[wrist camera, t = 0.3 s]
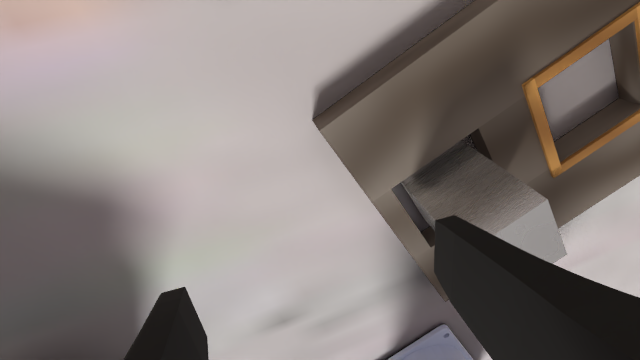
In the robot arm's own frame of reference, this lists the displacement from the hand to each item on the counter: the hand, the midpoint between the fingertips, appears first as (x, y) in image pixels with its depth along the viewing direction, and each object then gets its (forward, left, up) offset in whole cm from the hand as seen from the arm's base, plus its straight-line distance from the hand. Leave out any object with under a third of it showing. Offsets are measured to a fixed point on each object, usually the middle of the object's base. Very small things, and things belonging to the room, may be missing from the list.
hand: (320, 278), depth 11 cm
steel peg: (-8, -6, -10) cm, 14 cm away
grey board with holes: (-8, -11, -10) cm, 17 cm away
